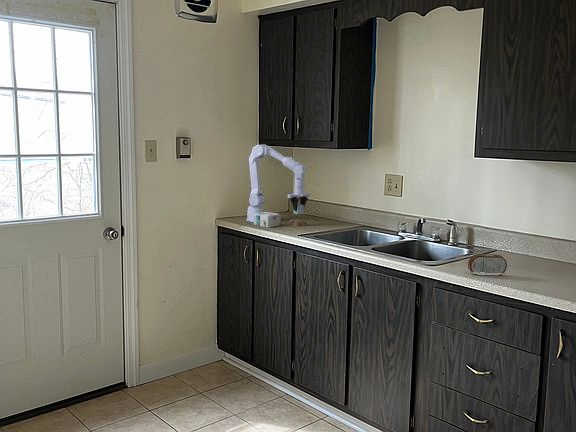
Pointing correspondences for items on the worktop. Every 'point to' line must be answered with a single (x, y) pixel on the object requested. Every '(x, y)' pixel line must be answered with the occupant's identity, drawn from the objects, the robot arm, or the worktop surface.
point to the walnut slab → (298, 222)
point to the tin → (487, 263)
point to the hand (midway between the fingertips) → (298, 210)
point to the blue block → (299, 209)
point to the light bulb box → (266, 219)
